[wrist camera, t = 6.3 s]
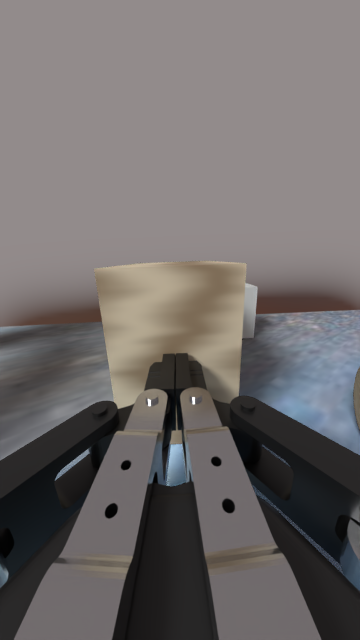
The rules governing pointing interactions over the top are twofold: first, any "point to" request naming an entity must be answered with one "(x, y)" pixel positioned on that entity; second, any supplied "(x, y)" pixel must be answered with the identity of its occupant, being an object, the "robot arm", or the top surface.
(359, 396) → the ceramic mug
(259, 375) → the top surface
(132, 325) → the maple block
